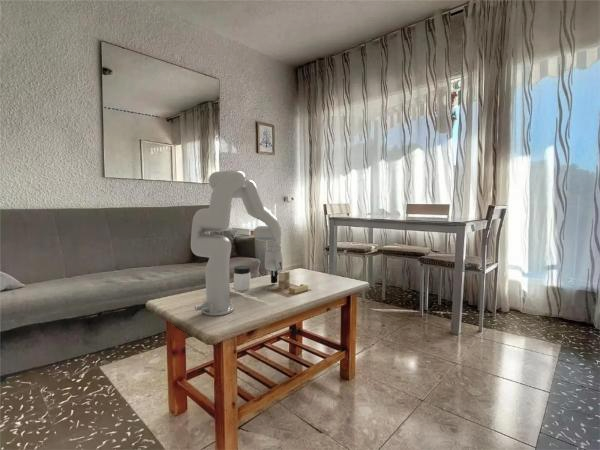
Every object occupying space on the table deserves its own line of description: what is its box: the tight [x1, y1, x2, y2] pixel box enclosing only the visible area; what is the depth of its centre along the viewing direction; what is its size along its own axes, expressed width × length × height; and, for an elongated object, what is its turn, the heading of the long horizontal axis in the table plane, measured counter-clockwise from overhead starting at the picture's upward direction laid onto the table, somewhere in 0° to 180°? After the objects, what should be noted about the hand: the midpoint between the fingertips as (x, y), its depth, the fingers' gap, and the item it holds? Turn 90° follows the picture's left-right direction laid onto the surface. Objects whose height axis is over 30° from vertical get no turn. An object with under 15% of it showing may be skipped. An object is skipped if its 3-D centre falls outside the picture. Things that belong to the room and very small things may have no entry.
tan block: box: [277, 270, 291, 289], centre depth 160 cm, size 4×4×8 cm
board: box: [265, 283, 313, 298], centre depth 155 cm, size 17×17×1 cm
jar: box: [233, 265, 252, 294], centre depth 158 cm, size 9×8×12 cm
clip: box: [289, 283, 309, 294], centre depth 152 cm, size 9×4×2 cm, turn 134°
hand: (274, 282), depth 166 cm, fingers closed
